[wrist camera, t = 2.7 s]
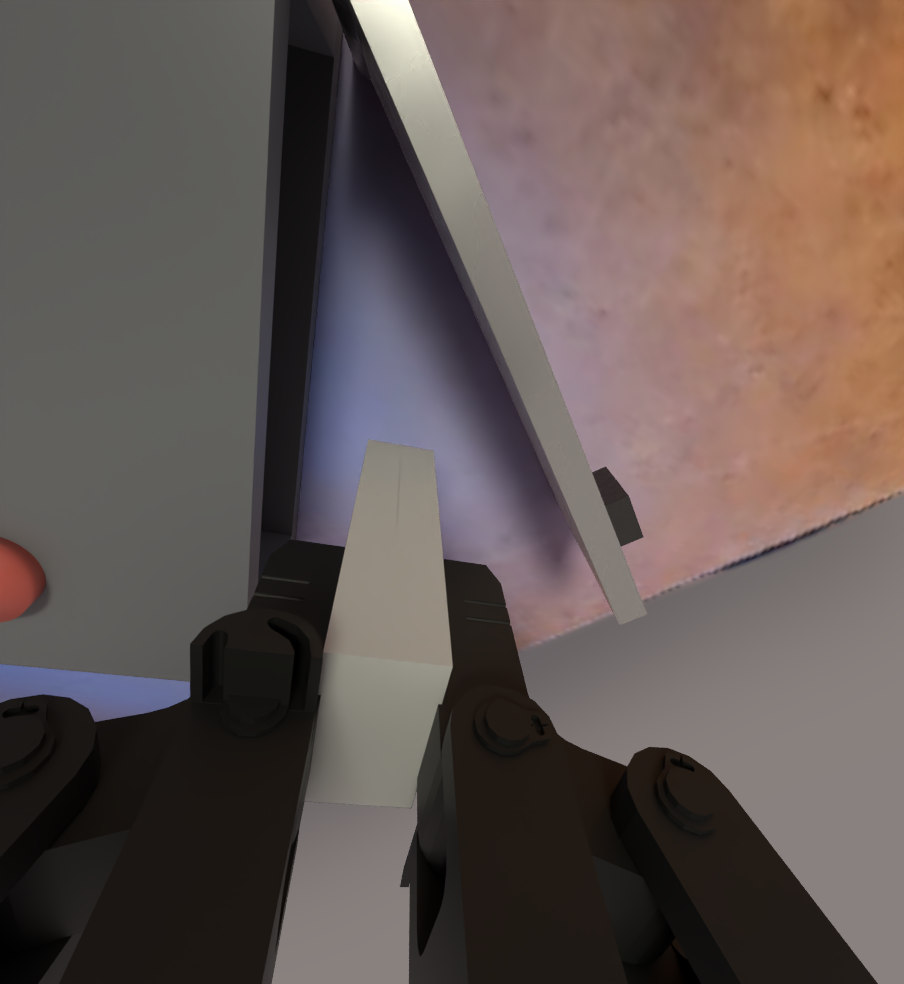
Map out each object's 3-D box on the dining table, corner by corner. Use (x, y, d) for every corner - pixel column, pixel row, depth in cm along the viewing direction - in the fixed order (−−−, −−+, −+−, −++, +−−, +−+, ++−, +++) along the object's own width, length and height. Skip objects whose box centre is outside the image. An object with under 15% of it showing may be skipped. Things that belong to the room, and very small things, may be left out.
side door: (342, 36, 13) (289, -105, 7) (413, -9, 13) (415, -191, 7) (555, 511, 20) (612, 627, 14) (604, 490, 20) (682, 600, 14)
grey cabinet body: (-61, -103, 12) (-713, -543, 5) (343, 19, 13) (271, -192, 6) (45, 531, 19) (-152, 699, 12) (293, 563, 21) (236, 730, 14)
